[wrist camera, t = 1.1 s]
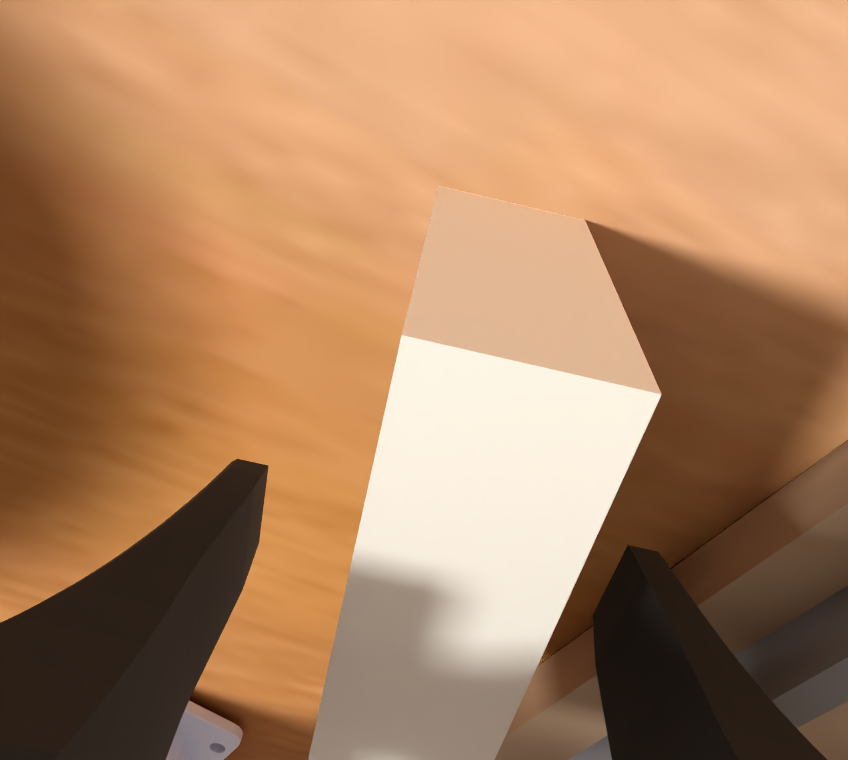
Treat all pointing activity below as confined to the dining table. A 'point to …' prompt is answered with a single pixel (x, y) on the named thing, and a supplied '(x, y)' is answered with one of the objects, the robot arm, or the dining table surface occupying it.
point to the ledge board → (735, 624)
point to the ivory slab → (482, 482)
